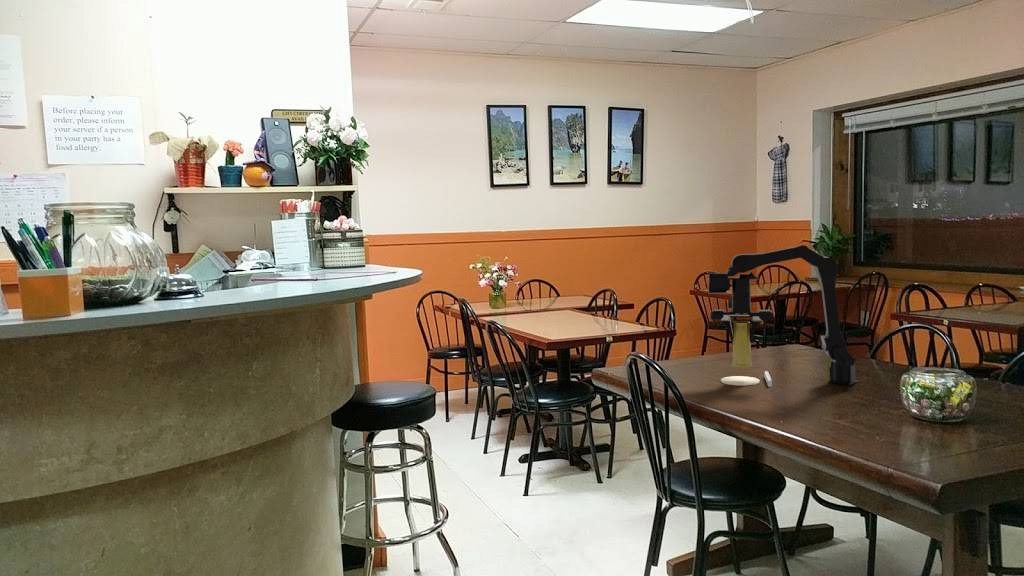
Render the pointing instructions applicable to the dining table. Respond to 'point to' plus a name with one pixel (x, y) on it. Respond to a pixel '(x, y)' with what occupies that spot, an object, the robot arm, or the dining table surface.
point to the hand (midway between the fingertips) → (741, 341)
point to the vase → (741, 344)
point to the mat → (740, 380)
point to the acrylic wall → (768, 379)
